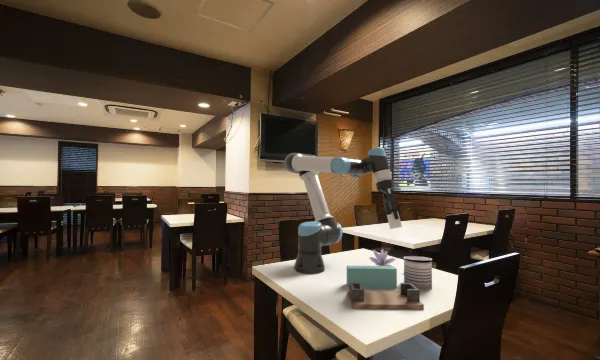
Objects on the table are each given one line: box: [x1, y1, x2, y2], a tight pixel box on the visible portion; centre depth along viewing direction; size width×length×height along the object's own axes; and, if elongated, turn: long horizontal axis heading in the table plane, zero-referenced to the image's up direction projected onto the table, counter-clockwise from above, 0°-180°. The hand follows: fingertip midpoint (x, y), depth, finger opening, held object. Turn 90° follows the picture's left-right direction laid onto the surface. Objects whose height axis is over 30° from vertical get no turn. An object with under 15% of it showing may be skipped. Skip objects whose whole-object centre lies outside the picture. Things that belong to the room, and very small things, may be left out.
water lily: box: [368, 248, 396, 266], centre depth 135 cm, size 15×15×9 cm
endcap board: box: [346, 282, 425, 310], centre depth 98 cm, size 24×12×6 cm, turn 90°
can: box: [403, 255, 433, 291], centre depth 115 cm, size 11×11×12 cm
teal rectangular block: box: [346, 265, 398, 289], centre depth 114 cm, size 20×4×8 cm, turn 89°
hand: (395, 228), depth 118 cm, fingers open, 13 cm apart
